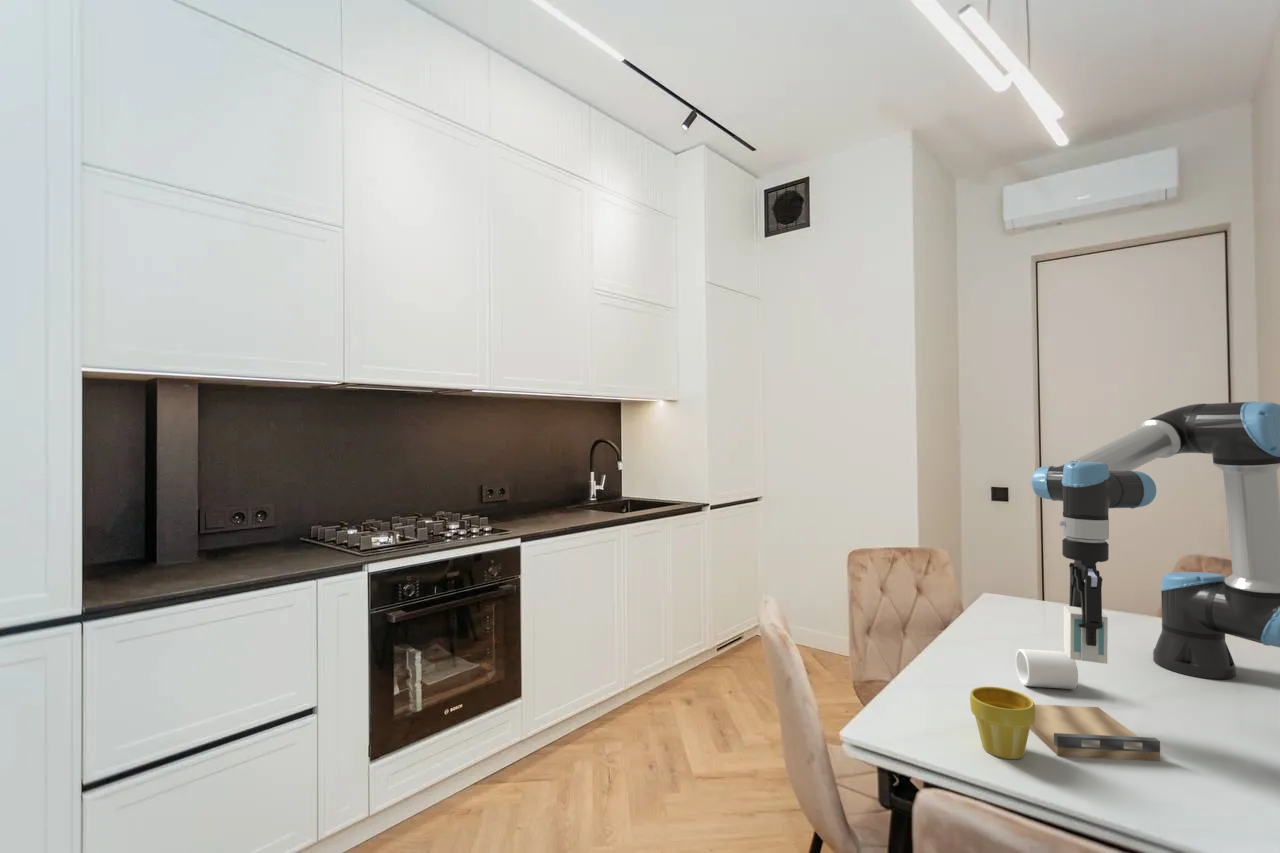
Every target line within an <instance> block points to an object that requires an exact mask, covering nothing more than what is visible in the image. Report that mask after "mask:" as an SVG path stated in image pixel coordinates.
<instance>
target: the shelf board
mask: <svg viewBox="0 0 1280 853" xmlns="http://www.w3.org/2000/svg"><path fill="white" fill-rule="evenodd" d="M1034 705H1035V722H1034V724H1033V725H1031V726H1030V730H1029V731H1031V733H1033V734H1034V735H1035V736H1036V737H1037V738H1039V739H1040V741H1041V742H1043V743H1044V744H1045V745H1046V746H1047V747H1048V748H1049V749H1050V750H1051V751H1052V752H1053V754H1055V755H1056V756H1059V757H1074V758H1075V757H1076V758H1077V757H1078V758H1079V757H1081V758H1095V759H1096V758H1098V759H1118V760H1119V759H1120V760H1132V761H1133V760H1134V761H1135V760H1136V761H1154V762H1155V761H1156V762H1161V740H1159V739H1158V738H1157V737H1143V736H1138V735H1137V734H1135V733H1134V732H1133V731H1131V730H1130V729H1128V727H1126V726H1124V725H1123V724H1122V723H1120V722H1119V721H1118V720H1117V719H1115V718H1114V717H1112V716H1111V715H1110V714H1108V713H1107V712H1105V711H1104V710H1103V709H1102V708H1100V707H1099V706H1080V705H1078V706H1077V705H1056V704H1055V705H1054V704H1035V703H1034Z"/></svg>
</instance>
